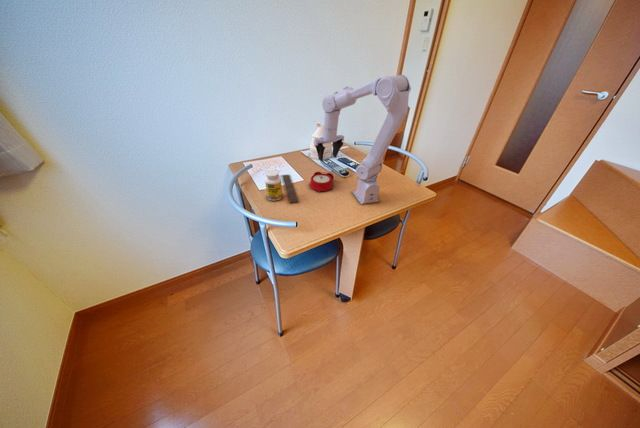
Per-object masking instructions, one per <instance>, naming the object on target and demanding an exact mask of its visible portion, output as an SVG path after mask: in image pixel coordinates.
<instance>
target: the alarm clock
mask: <svg viewBox="0 0 640 428" xmlns="http://www.w3.org/2000/svg"><path fill="white" fill-rule="evenodd" d="M334 178H335V176H334V174H333V173H331V172H326V173H323V172H321V171H315V172H314V173H313V174H312V175H311V176H310V182H309V188H310V189H311V190H313V191H316V192H317V193H321V192H327V191H330V190H331V189H333V181H334Z"/></svg>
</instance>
